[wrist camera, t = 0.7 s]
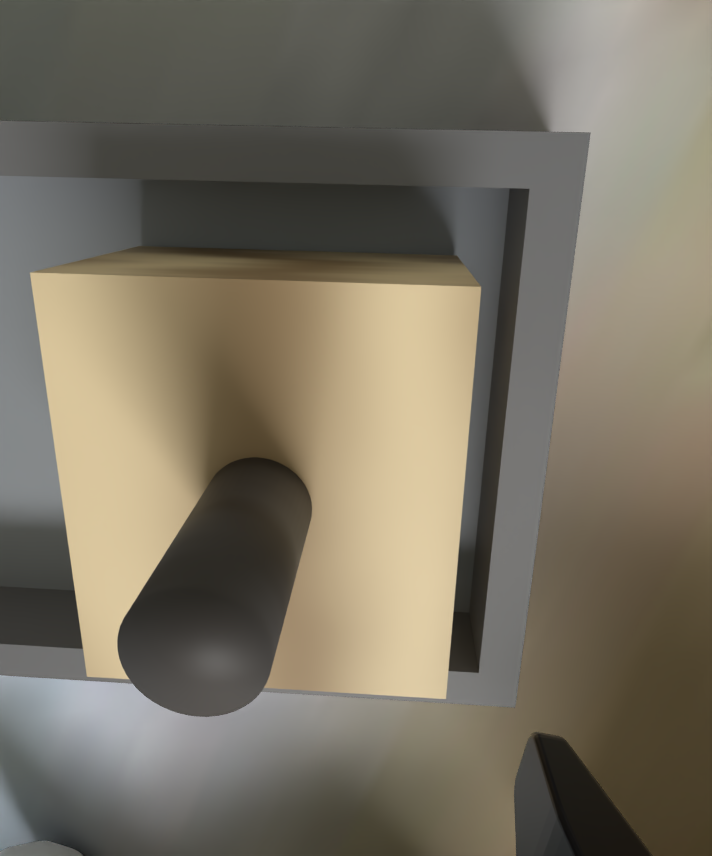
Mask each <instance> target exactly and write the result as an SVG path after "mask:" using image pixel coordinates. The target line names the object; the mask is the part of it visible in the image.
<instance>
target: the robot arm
mask: <svg viewBox="0 0 712 856" xmlns="http://www.w3.org/2000/svg"><path fill="white" fill-rule="evenodd" d="M514 803H515V832H516V856H652V854H651V853H650V852H649V850H648V849H647V848H646V846H645V845H644V844H643V842H642V841H641V840H640V838H639V837H638V836H637V834H636V833H635V832H634V830H633V829H632V828H631V826H630V825H629V824H628V822H627V821H626V820H625V818H624V817H623V816H622V814H621V813H620V812H619V810H618V809H617V808H616V806H615V805H614V804H613V802H612V801H611V800H610V798H609V797H608V796H607V794H606V793H605V792H604V790H603V789H602V788H601V786H600V785H599V784H598V782H597V781H596V780H595V778H594V777H593V776H592V774H591V773H590V772H589V770H588V769H587V768H586V766H585V765H584V764H583V762H582V761H581V760H580V758H579V757H578V756H577V754H576V753H575V752H574V750H573V749H572V748H571V746H570V745H569V744H568V742H567V741H566V740H565V739H563V738H562V737H560V736H555V735H550V734H544V733H539V732H535V733H532V734H531V736H530V737H529V739H528V741H527V744H526V747H525V750H524V754H523V757H522V760H521V763H520V766H519V769H518V772H517V775H516V780H515V789H514Z"/></svg>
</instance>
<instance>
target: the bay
mask: <svg viewBox="0 0 712 856" xmlns="http://www.w3.org/2000/svg"><path fill="white" fill-rule="evenodd" d="M589 140H590V133H587V132H538V131H488V130H439V129H389V128H340V127H291V126H241V125H192V124H143V123H93V122H44V121H0V675H6V676H22V677H38V678H54V679H69V680H85V681H101V682H117V683H132V682H131V681H130V679H116V678H100V677H87V673H86V666H85V659H84V652H83V645H82V637H81V630H80V623H79V616H78V609H77V602H76V595H75V588H74V581H73V574H72V567H71V560H70V553H69V545H68V538H67V531H66V524H65V517H64V510H63V503H62V496H61V489H60V482H59V475H58V468H57V461H56V453H55V446H54V439H53V432H52V425H51V418H50V411H49V404H48V397H47V390H46V383H45V376H44V369H43V361H42V354H41V347H40V340H39V333H38V326H37V319H36V312H35V305H34V298H33V291H32V284H31V277H30V272H34V271H38V270H42V269H47V268H51V267H55V266H59V265H63V264H67V263H71V262H75V261H79V260H83V259H88V258H92V257H96V256H100V255H104V254H108V253H112V252H116V251H120V250H125V249H129V248H133V247H137V246H155V247H188V248H222V249H256V250H290V251H324V252H357V253H391V254H425V255H457V256H458V257H459V259H460V260H461V261H462V263H463V264H464V265H465V266H466V268H467V269H468V270H469V272H470V273H471V274H472V275H473V277H474V278H475V279H476V281H477V282H478V283H479V285H480V286H481V297H480V308H479V320H478V332H477V343H476V355H475V367H474V378H473V390H472V401H471V413H470V425H469V436H468V448H467V460H466V471H465V483H464V495H463V506H462V518H461V530H460V541H459V553H458V564H457V576H456V588H455V599H454V611H453V623H452V634H451V646H450V658H449V669H448V681H447V692H446V699H435V698H419V697H403V696H387V695H371V694H355V693H339V692H323V691H308V690H292V689H276V688H263V690H262V691H261V692H276V693H292V694H308V695H324V696H340V697H356V698H371V699H387V700H403V701H419V702H435V703H451V704H467V705H483V706H499V707H514V708H515V706H516V698H517V690H518V683H519V675H520V668H521V660H522V652H523V645H524V637H525V629H526V622H527V614H528V606H529V599H530V591H531V584H532V576H533V568H534V561H535V553H536V545H537V538H538V530H539V522H540V515H541V507H542V499H543V492H544V484H545V477H546V469H547V461H548V454H549V446H550V438H551V431H552V423H553V415H554V408H555V400H556V393H557V385H558V377H559V370H560V362H561V354H562V347H563V339H564V331H565V324H566V316H567V308H568V301H569V293H570V286H571V278H572V270H573V263H574V255H575V247H576V240H577V232H578V224H579V217H580V209H581V202H582V194H583V186H584V179H585V171H586V163H587V156H588V148H589Z"/></svg>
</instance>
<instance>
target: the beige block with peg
mask: <svg viewBox="0 0 712 856" xmlns="http://www.w3.org/2000/svg"><path fill="white" fill-rule="evenodd" d="M30 277H31V284H32V291H33V298H34V305H35V312H36V319H37V326H38V333H39V340H40V347H41V354H42V361H43V369H44V376H45V383H46V390H47V397H48V404H49V411H50V418H51V425H52V432H53V439H54V446H55V453H56V461H57V468H58V475H59V482H60V489H61V496H62V503H63V510H64V517H65V524H66V531H67V538H68V545H69V553H70V560H71V567H72V574H73V581H74V588H75V595H76V602H77V609H78V616H79V623H80V630H81V637H82V645H83V652H84V659H85V666H86V673H87V677H100V678H116V679H130V681H131V682H132V683H133V684H134V686H135V687H136V688H137V689H138V690H139V691H140V692H141V693H142V694H144V695H145V696H146V697H147V698H149V699H150V700H152V701H153V702H155V703H157V704H158V705H160V706H162V707H164V708H167V709H169V710H171V711H174V712H177V713H181V714H185V715H191V716H203V717H209V716H219V715H223V714H228V713H231V712H234V711H236V710H238V709H240V708H242V707H244V706H246V705H247V704H249V703H250V702H252V701H253V700H254V699H255V698H256V697H257V696H258V695H259V694H260V692H261V691H262V690H263V688H276V689H292V690H308V691H323V692H339V693H355V694H371V695H387V696H403V697H419V698H435V699H446V692H447V681H448V669H449V658H450V646H451V634H452V623H453V611H454V599H455V588H456V576H457V564H458V553H459V541H460V530H461V518H462V506H463V495H464V483H465V471H466V460H467V448H468V436H469V425H470V413H471V401H472V390H473V378H474V367H475V355H476V343H477V332H478V320H479V308H480V297H481V286H480V285H479V283H478V282H477V281H476V279H475V278H474V277H473V275H472V274H471V273H470V272H469V270H468V269H467V268H466V266H465V265H464V264H463V263H462V261H461V260H460V259H459V257H458V256H457V255H425V254H391V253H357V252H324V251H290V250H256V249H222V248H188V247H155V246H137V247H133V248H129V249H125V250H120V251H116V252H112V253H108V254H104V255H100V256H96V257H92V258H88V259H83V260H79V261H75V262H71V263H67V264H63V265H59V266H55V267H51V268H47V269H42V270H38V271H34V272H30Z"/></svg>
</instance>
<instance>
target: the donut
mask: <svg viewBox="0 0 712 856" xmlns="http://www.w3.org/2000/svg"><path fill="white" fill-rule="evenodd" d="M0 856H83V855H82V854H81V853H80V852H79V851H77V850H75V849H73V848H70V847H67V846H64V845H60V844H57V843H53V842H50V841H35V842H30V843H25V844H21V845H16V846H12V847H8V848H6V849H3V850H1V851H0Z"/></svg>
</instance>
